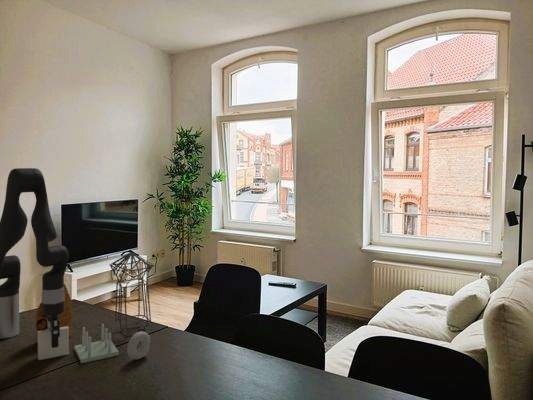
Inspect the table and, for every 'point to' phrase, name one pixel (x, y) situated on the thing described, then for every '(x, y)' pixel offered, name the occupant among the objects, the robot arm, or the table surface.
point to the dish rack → (96, 347)
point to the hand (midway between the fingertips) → (53, 343)
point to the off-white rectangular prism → (45, 344)
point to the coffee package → (64, 317)
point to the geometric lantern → (131, 286)
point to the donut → (134, 342)
